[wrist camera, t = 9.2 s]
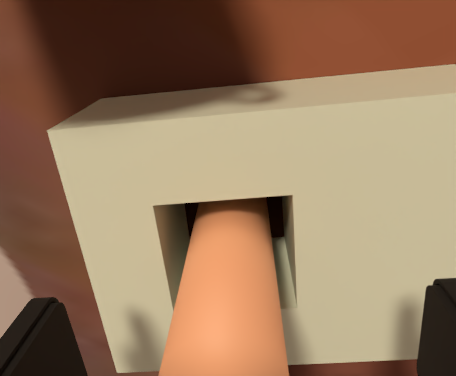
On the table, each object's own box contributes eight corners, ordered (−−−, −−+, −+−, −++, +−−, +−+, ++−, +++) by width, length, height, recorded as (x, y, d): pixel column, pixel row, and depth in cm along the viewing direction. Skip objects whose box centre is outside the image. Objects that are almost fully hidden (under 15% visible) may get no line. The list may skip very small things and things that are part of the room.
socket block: (612, 48, 15) (773, 63, 11) (553, 268, 19) (651, 348, 14) (101, 98, 17) (47, 130, 12) (145, 292, 20) (117, 372, 16)
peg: (264, 165, 18) (287, 331, 8) (268, 225, 19) (292, 428, 10) (196, 170, 18) (147, 339, 9) (205, 229, 19) (169, 432, 10)
